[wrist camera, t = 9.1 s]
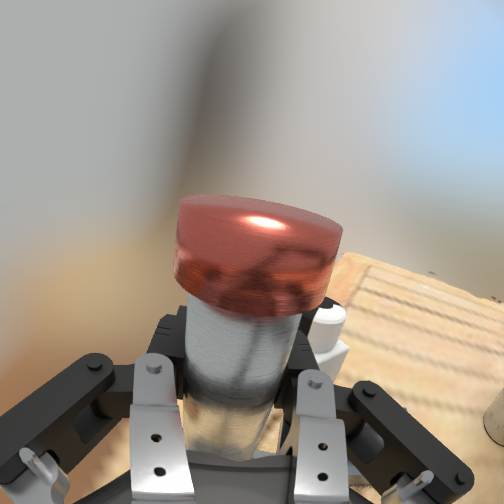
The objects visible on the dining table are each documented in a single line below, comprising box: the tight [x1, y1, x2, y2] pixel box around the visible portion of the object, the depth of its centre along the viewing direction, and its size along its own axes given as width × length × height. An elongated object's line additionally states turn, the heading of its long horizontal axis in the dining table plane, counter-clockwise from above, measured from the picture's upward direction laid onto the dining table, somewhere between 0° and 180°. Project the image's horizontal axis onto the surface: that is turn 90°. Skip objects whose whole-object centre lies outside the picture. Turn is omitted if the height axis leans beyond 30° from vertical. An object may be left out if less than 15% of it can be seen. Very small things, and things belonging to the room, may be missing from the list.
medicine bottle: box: [298, 297, 349, 383], centre depth 31 cm, size 7×7×12 cm
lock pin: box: [173, 195, 343, 461], centre depth 10 cm, size 5×5×14 cm
